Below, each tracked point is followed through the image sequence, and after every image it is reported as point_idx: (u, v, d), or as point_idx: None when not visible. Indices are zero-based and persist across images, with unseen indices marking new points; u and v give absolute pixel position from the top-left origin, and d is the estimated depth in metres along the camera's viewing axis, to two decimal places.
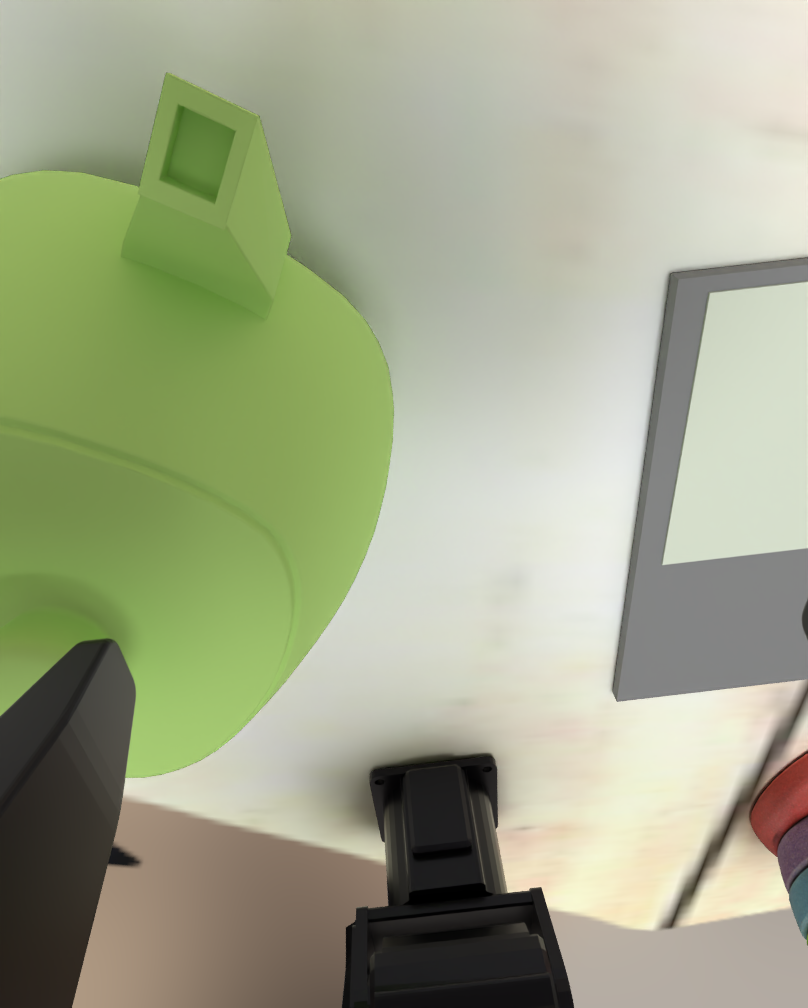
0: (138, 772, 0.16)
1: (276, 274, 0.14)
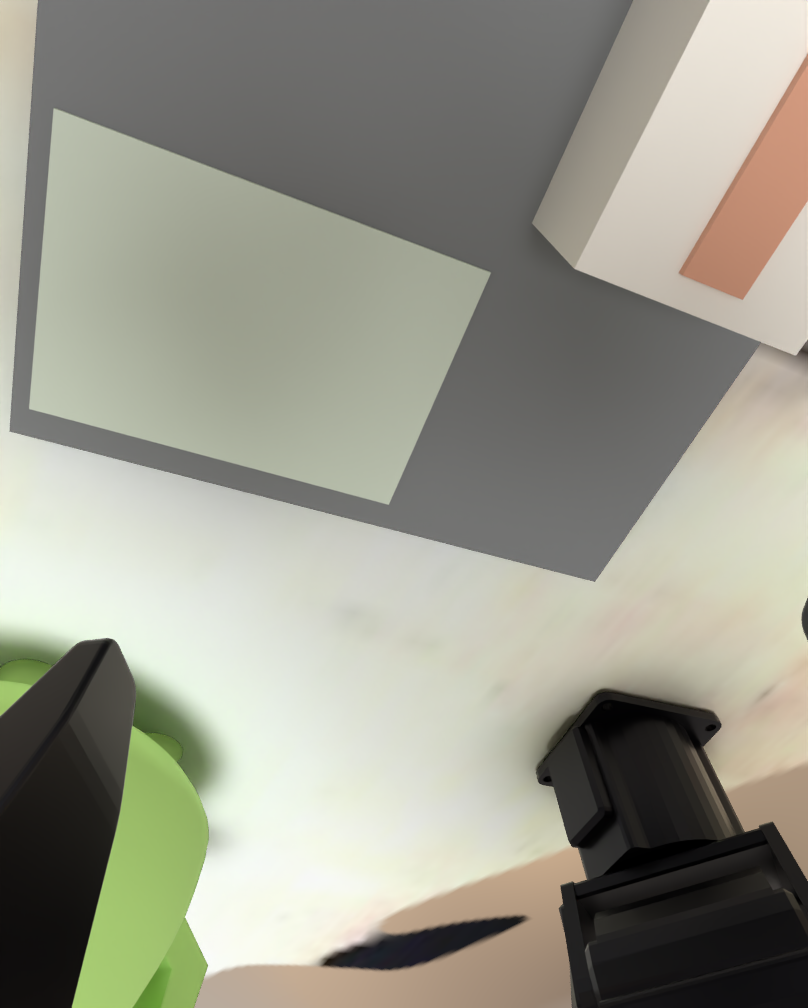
0: None
1: None
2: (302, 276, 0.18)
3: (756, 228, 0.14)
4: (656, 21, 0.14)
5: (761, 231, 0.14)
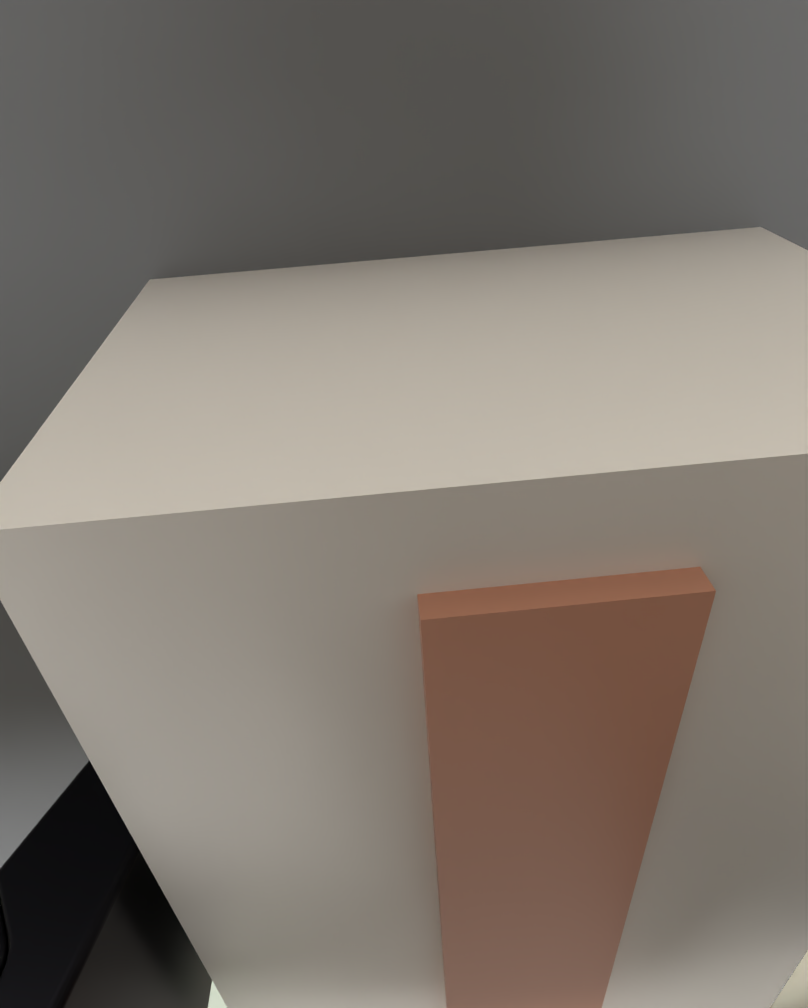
0: None
1: None
2: None
3: None
4: None
5: None
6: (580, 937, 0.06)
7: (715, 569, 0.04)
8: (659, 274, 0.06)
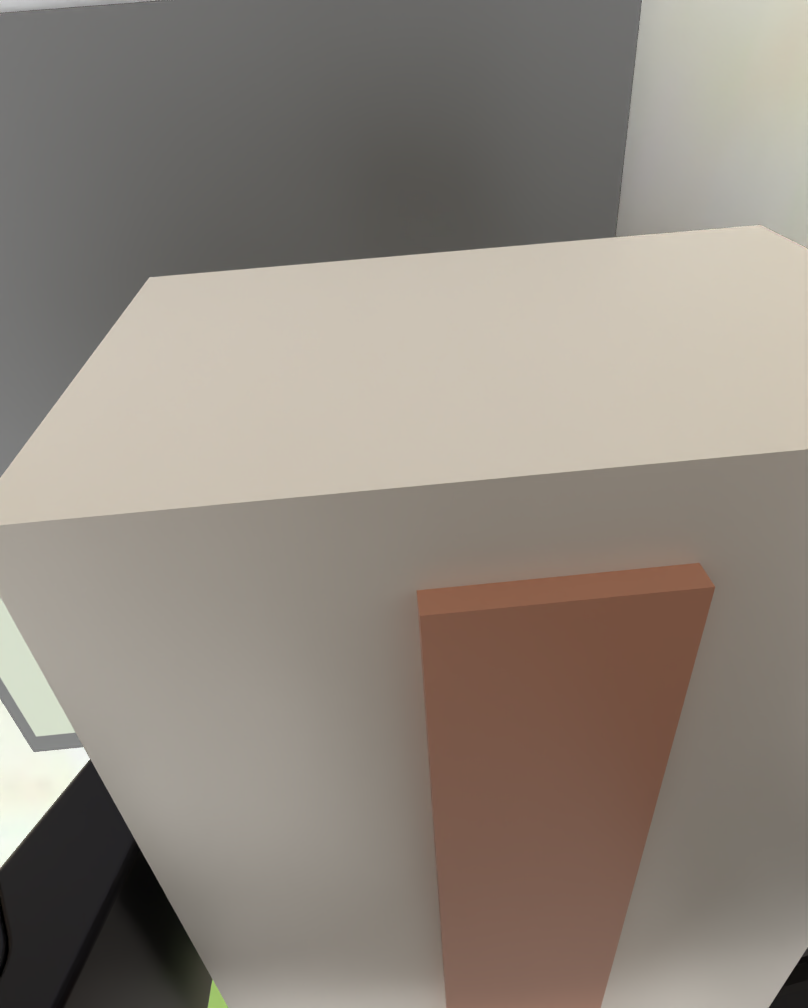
0: None
1: None
2: None
3: None
4: None
5: None
6: (580, 934, 0.06)
7: (714, 564, 0.04)
8: (658, 271, 0.06)
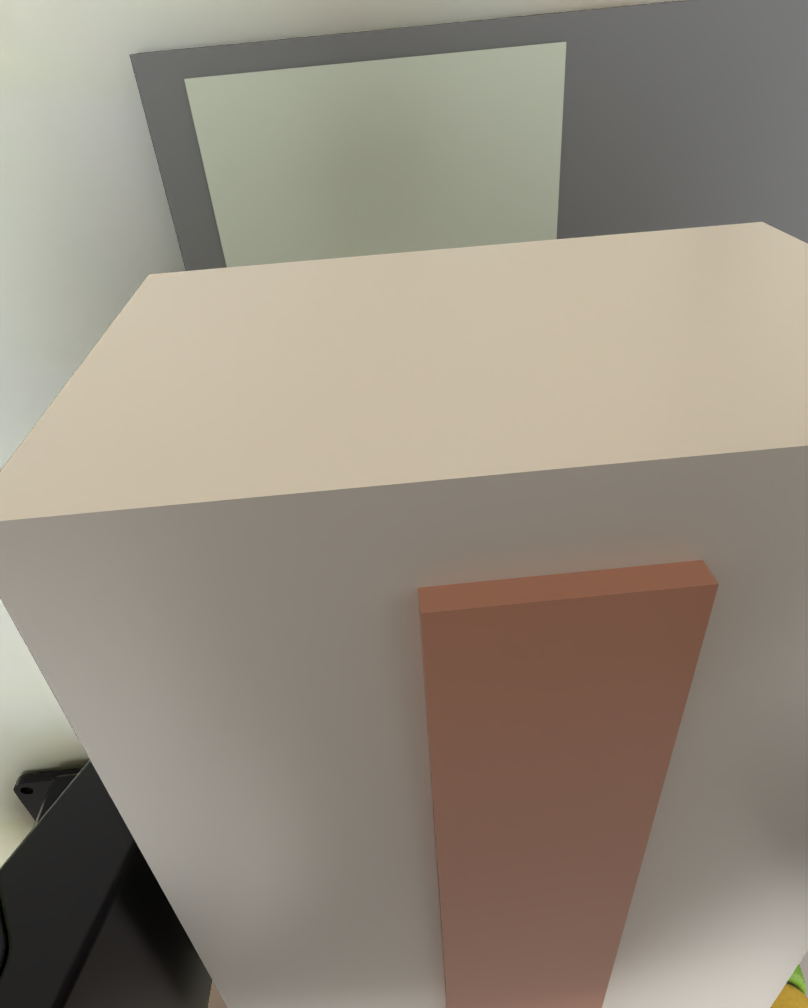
0: None
1: None
2: None
3: None
4: None
5: None
6: (581, 934, 0.06)
7: (717, 562, 0.04)
8: (660, 268, 0.06)
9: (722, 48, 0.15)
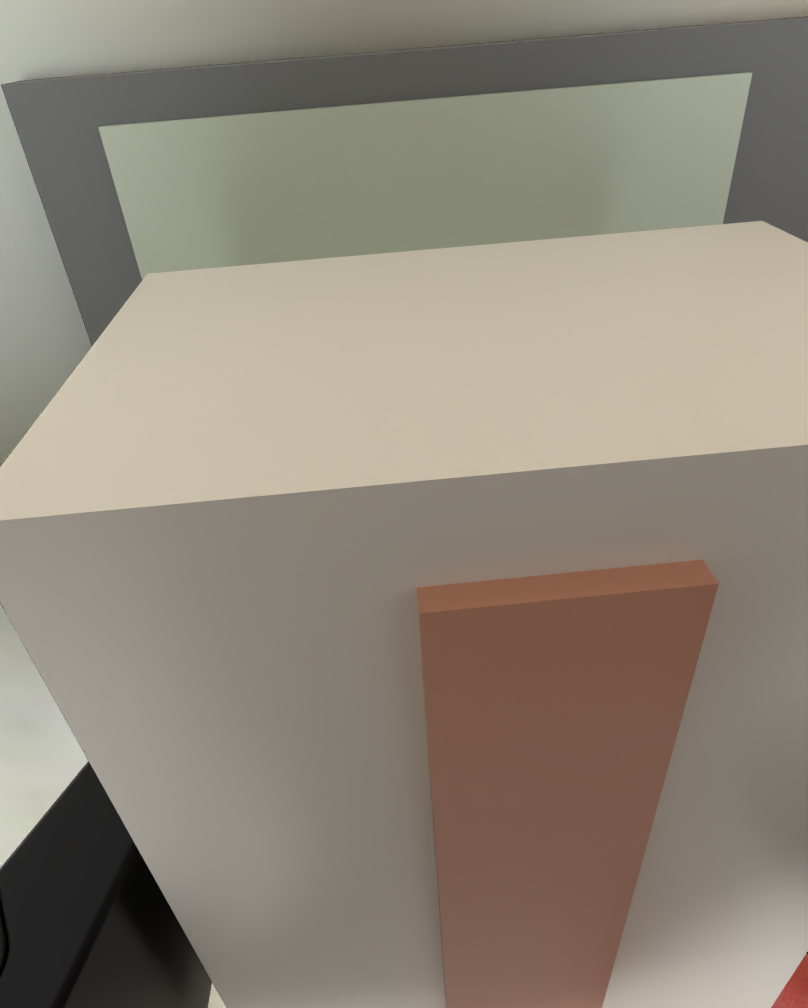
0: None
1: None
2: None
3: None
4: None
5: None
6: (581, 935, 0.06)
7: (717, 561, 0.04)
8: (660, 267, 0.06)
9: None
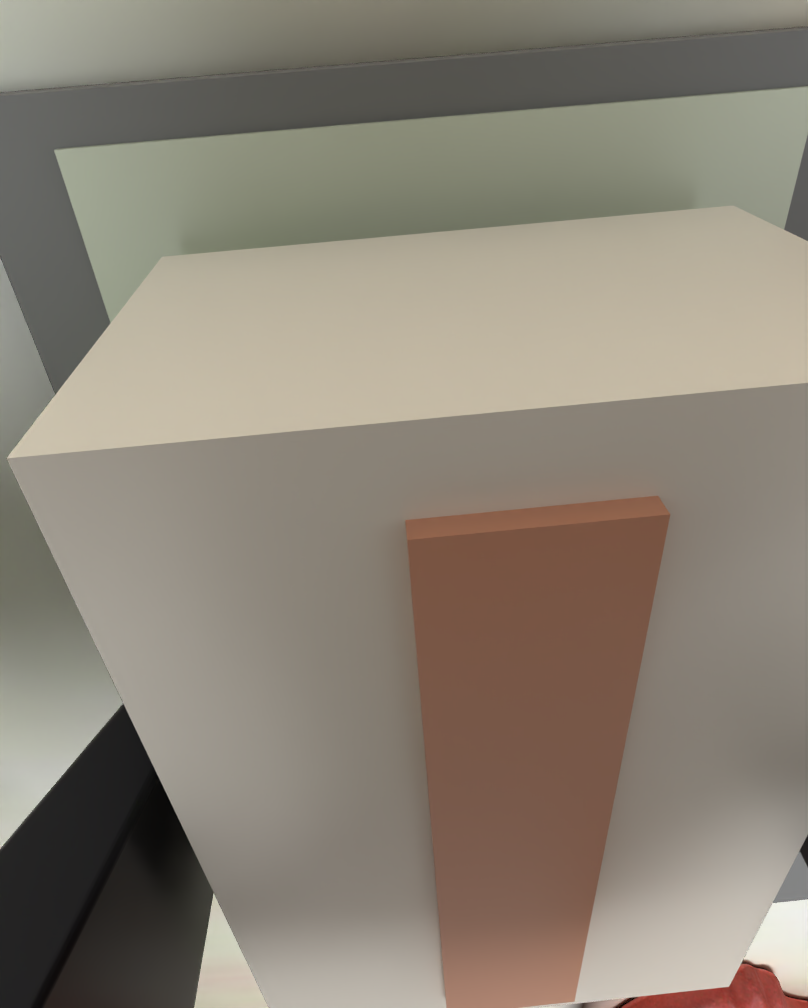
0: None
1: None
2: None
3: (524, 962, 0.08)
4: None
5: (536, 961, 0.08)
6: (563, 864, 0.07)
7: (670, 497, 0.04)
8: (634, 246, 0.06)
9: None
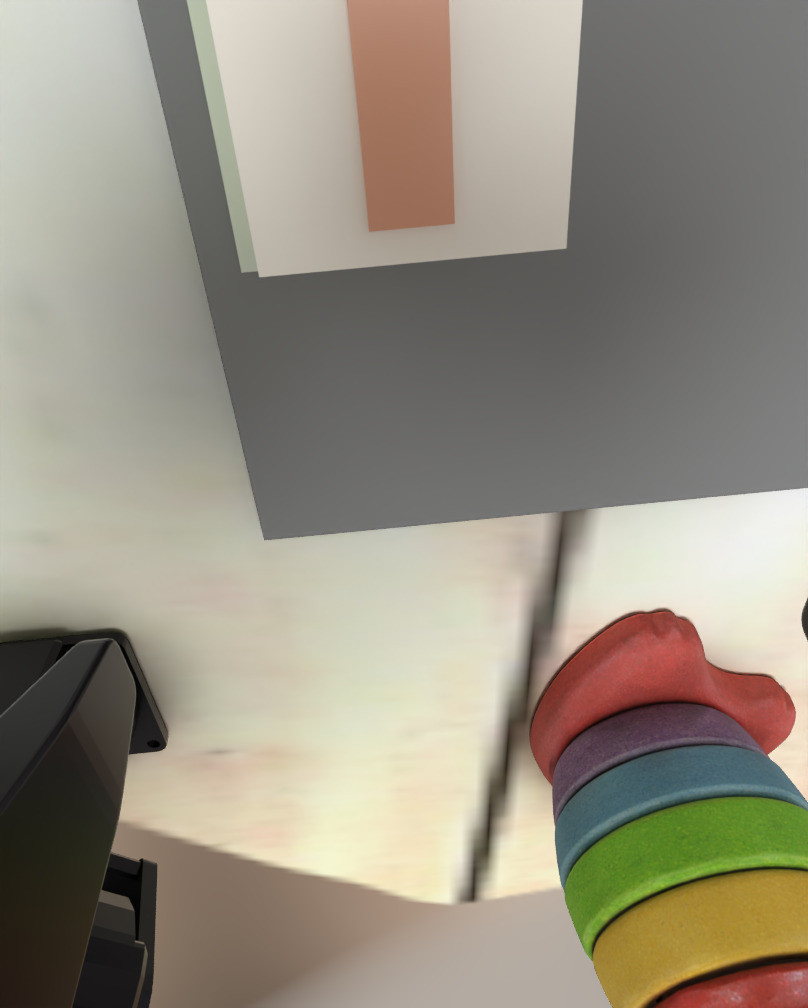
0: None
1: None
2: None
3: (414, 146, 0.12)
4: None
5: (422, 146, 0.12)
6: None
7: None
8: None
9: None
